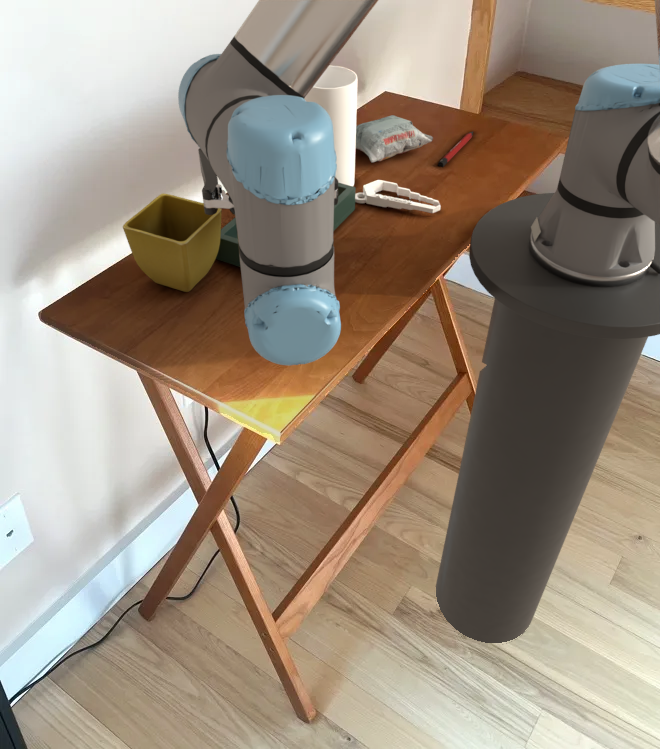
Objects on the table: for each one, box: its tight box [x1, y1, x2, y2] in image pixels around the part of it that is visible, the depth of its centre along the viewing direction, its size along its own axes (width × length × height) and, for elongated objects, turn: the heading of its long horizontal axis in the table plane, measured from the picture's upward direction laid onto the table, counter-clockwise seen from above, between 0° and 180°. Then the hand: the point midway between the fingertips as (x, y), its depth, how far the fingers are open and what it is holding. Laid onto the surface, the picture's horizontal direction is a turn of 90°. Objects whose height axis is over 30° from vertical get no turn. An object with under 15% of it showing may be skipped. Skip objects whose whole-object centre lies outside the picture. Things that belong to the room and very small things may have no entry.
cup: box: [304, 65, 359, 187], centre depth 104 cm, size 8×8×16 cm
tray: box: [215, 183, 357, 268], centre depth 98 cm, size 10×20×4 cm, turn 152°
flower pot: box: [122, 192, 223, 293], centre depth 89 cm, size 9×9×9 cm
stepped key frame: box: [355, 179, 442, 214], centre depth 105 cm, size 13×5×2 cm, turn 68°
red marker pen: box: [437, 131, 474, 168], centre depth 118 cm, size 1×14×1 cm, turn 150°
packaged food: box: [355, 114, 434, 163], centre depth 115 cm, size 9×12×5 cm
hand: (258, 124), depth 83 cm, fingers closed on pill bottle, 6 cm apart
